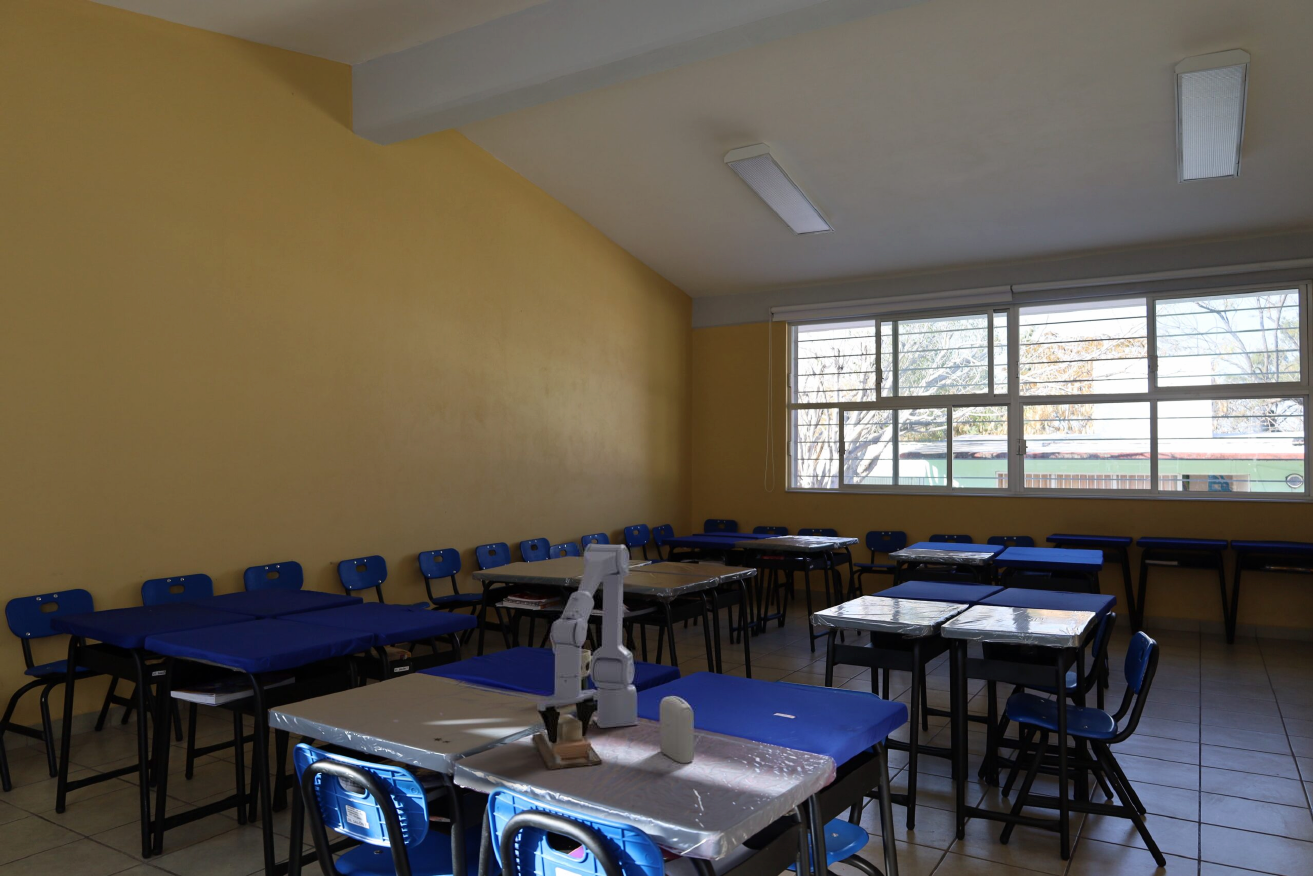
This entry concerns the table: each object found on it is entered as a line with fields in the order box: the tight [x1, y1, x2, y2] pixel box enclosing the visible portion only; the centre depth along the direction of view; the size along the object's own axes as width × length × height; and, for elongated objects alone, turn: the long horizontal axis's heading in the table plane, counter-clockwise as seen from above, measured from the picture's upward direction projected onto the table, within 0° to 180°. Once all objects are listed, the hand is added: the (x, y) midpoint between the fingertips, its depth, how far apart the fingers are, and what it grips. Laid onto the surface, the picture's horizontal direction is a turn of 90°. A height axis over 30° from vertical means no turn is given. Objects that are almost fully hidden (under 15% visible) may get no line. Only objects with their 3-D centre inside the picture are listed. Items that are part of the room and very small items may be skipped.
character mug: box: [581, 648, 593, 691], centre depth 218 cm, size 11×7×13 cm, turn 125°
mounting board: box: [532, 733, 603, 770], centre depth 176 cm, size 11×22×1 cm, turn 18°
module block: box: [553, 713, 582, 744], centre depth 175 cm, size 4×7×6 cm, turn 29°
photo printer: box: [659, 695, 695, 764], centre depth 172 cm, size 10×4×12 cm, turn 26°
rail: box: [538, 728, 594, 764], centre depth 176 cm, size 8×21×1 cm, turn 18°
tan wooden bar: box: [552, 740, 592, 759], centre depth 170 cm, size 8×2×2 cm, turn 108°
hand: (567, 738), depth 174 cm, fingers open, 7 cm apart
